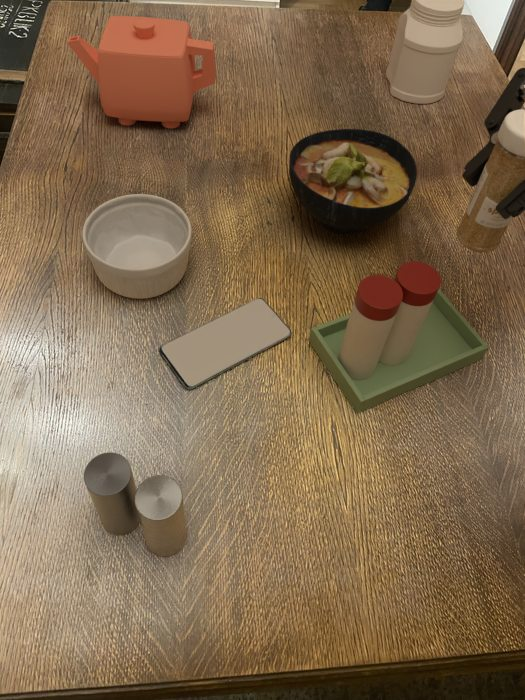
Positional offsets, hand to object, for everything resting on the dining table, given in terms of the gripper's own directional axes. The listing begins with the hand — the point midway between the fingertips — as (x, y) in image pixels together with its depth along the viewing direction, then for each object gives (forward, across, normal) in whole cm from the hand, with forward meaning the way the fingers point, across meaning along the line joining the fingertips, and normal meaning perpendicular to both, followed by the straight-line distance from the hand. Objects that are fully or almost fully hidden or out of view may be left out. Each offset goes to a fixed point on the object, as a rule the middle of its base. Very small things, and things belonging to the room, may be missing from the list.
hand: (484, 197), depth 57 cm
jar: (-7, -48, +40) cm, 62 cm away
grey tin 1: (+44, +5, -12) cm, 46 cm away
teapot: (+25, -58, +6) cm, 64 cm away
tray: (+19, 0, +14) cm, 23 cm away
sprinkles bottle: (+3, 0, +6) cm, 7 cm away
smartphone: (+31, -9, +1) cm, 33 cm away
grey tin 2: (+42, +9, -10) cm, 44 cm away
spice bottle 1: (+22, 0, +9) cm, 24 cm away
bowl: (+14, -24, +18) cm, 33 cm away
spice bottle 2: (+19, 0, +12) cm, 23 cm away
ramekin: (+35, -25, -3) cm, 43 cm away
